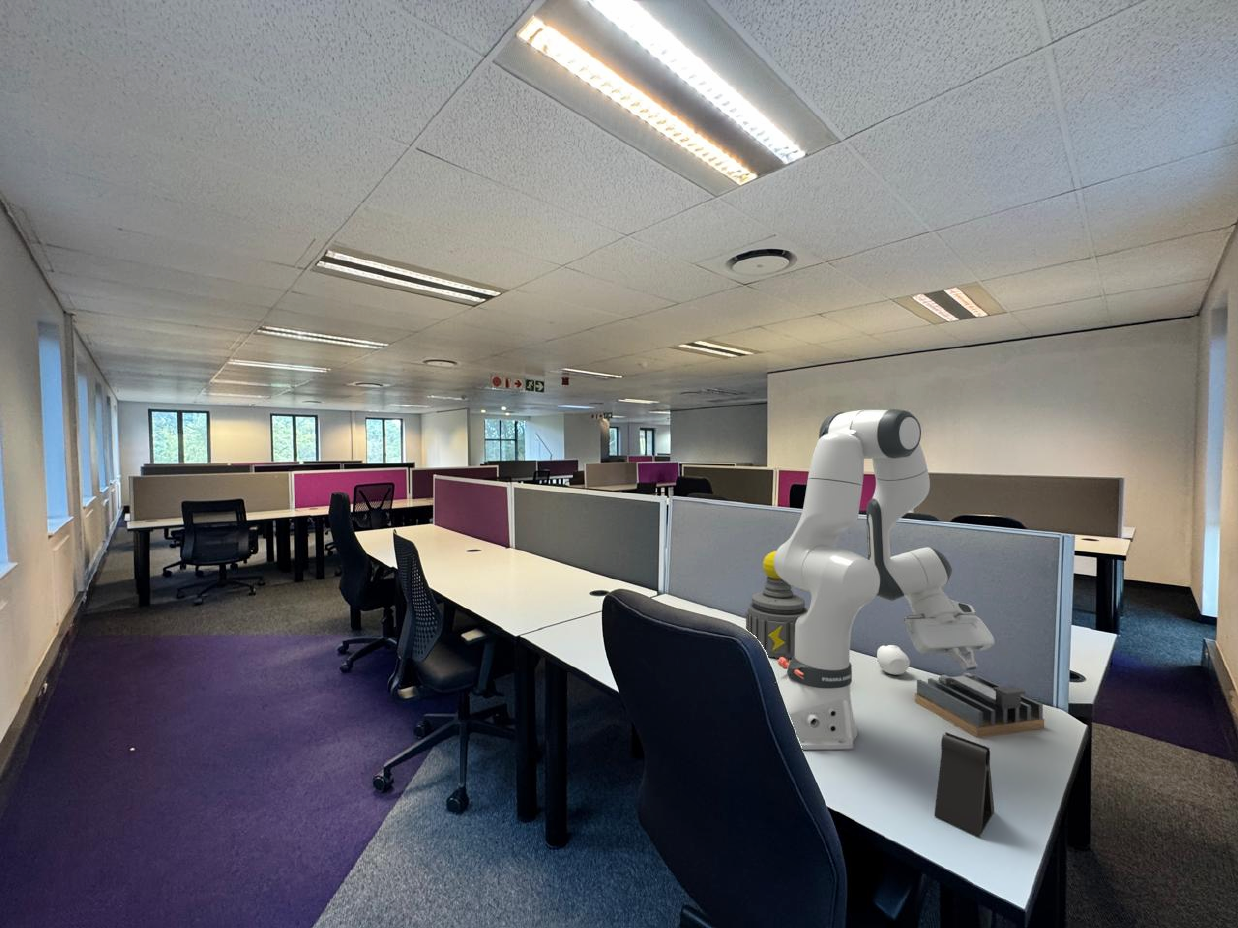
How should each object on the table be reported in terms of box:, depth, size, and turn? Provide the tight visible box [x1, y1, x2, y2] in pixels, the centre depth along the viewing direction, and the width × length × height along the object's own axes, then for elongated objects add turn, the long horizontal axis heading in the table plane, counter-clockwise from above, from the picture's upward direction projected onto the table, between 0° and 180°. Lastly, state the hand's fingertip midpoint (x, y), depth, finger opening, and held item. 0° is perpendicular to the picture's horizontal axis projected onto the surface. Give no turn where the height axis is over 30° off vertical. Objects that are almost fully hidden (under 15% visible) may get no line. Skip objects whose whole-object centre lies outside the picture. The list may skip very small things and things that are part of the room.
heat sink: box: [914, 672, 1045, 738], centre depth 113 cm, size 18×17×9 cm
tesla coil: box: [745, 550, 809, 660], centre depth 153 cm, size 19×19×30 cm
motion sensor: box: [876, 644, 911, 676], centre depth 136 cm, size 8×8×8 cm
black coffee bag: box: [934, 731, 995, 838], centre depth 81 cm, size 9×6×12 cm, turn 131°
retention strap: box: [951, 675, 996, 704], centre depth 113 cm, size 5×12×1 cm, turn 13°
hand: (971, 668), depth 115 cm, fingers closed
